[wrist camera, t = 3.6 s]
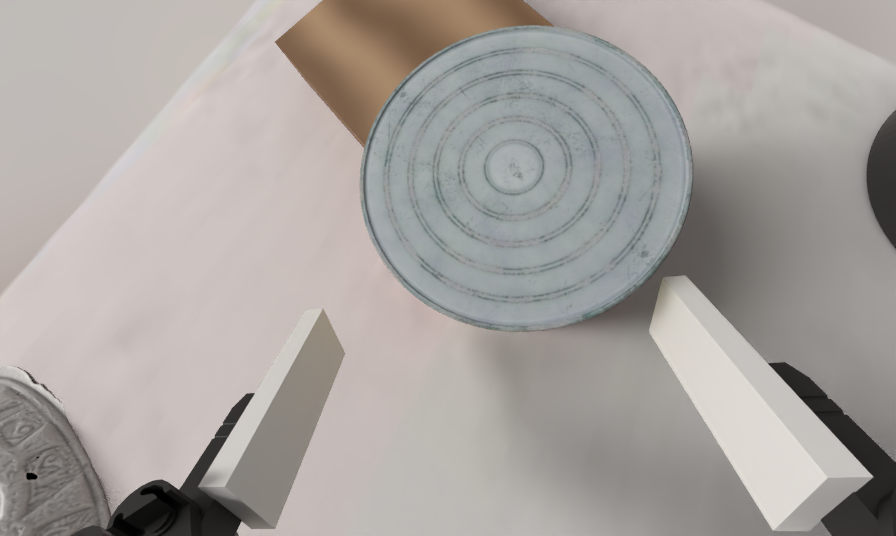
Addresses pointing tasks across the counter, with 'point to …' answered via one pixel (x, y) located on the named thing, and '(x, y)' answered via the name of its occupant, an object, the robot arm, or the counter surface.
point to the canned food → (526, 178)
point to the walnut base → (384, 46)
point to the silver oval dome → (43, 465)
